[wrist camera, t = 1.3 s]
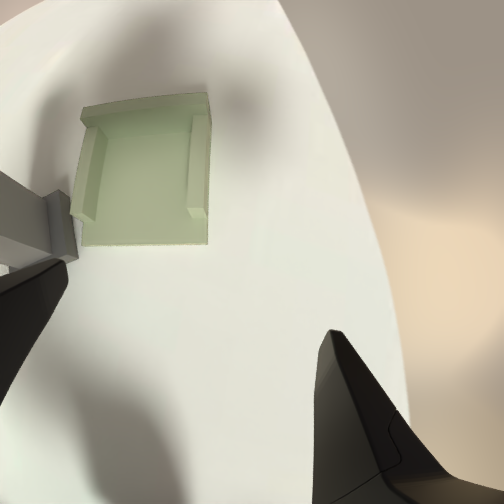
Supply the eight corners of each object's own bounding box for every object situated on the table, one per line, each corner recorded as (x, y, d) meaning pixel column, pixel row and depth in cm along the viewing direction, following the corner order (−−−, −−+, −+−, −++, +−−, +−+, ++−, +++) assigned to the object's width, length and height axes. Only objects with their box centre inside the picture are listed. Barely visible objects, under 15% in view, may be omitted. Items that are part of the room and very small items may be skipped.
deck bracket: (207, 244, 24) (199, 229, 20) (83, 246, 24) (56, 234, 19) (211, 123, 26) (207, 92, 22) (101, 133, 26) (83, 107, 21)
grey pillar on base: (78, 258, 24) (-28, 216, 11) (22, 281, 23) (-81, 257, 10) (69, 197, 25) (-19, 128, 12) (16, 223, 24) (-75, 177, 11)
